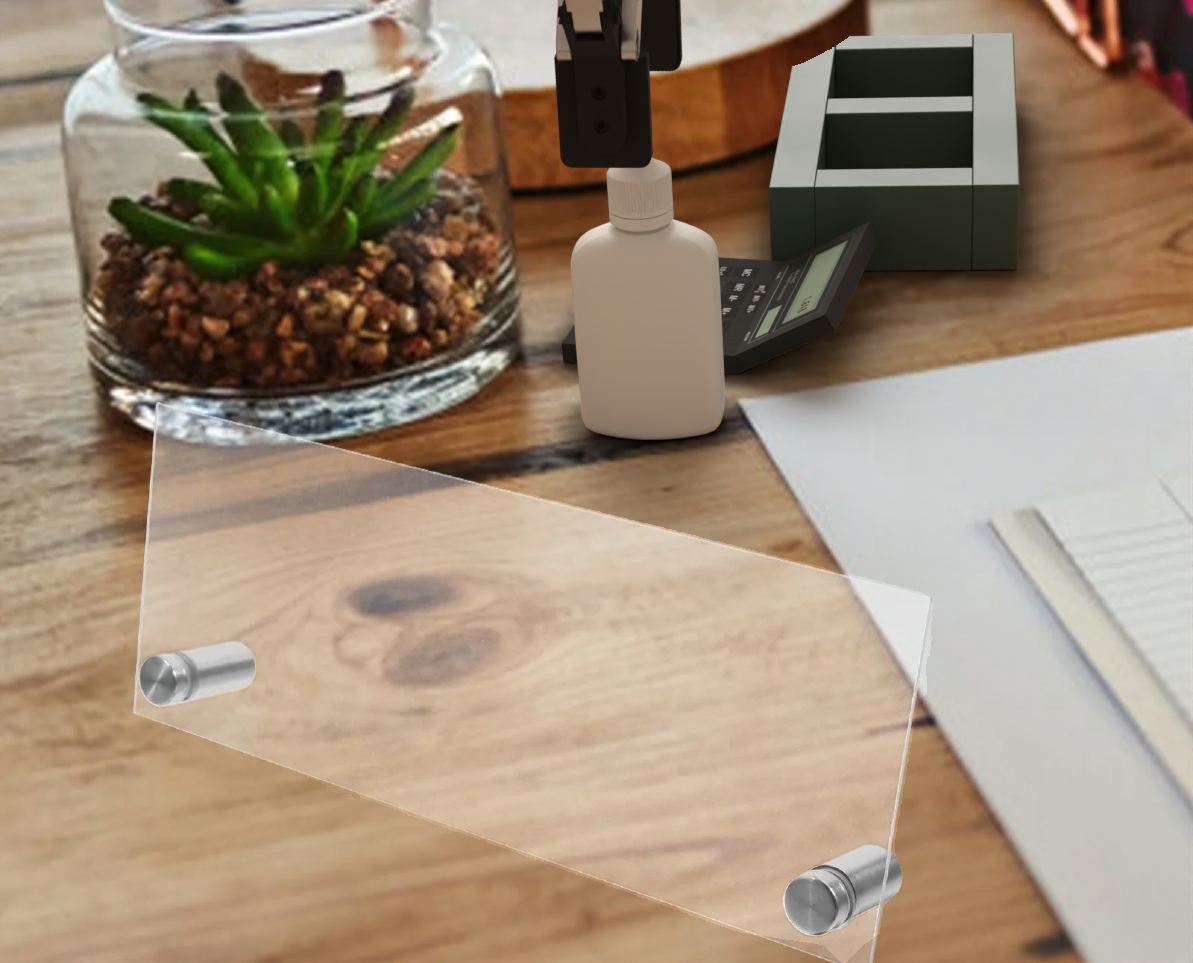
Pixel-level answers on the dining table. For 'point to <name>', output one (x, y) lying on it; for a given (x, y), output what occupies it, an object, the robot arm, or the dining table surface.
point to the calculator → (783, 299)
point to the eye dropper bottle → (647, 315)
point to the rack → (902, 152)
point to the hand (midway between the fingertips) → (624, 114)
